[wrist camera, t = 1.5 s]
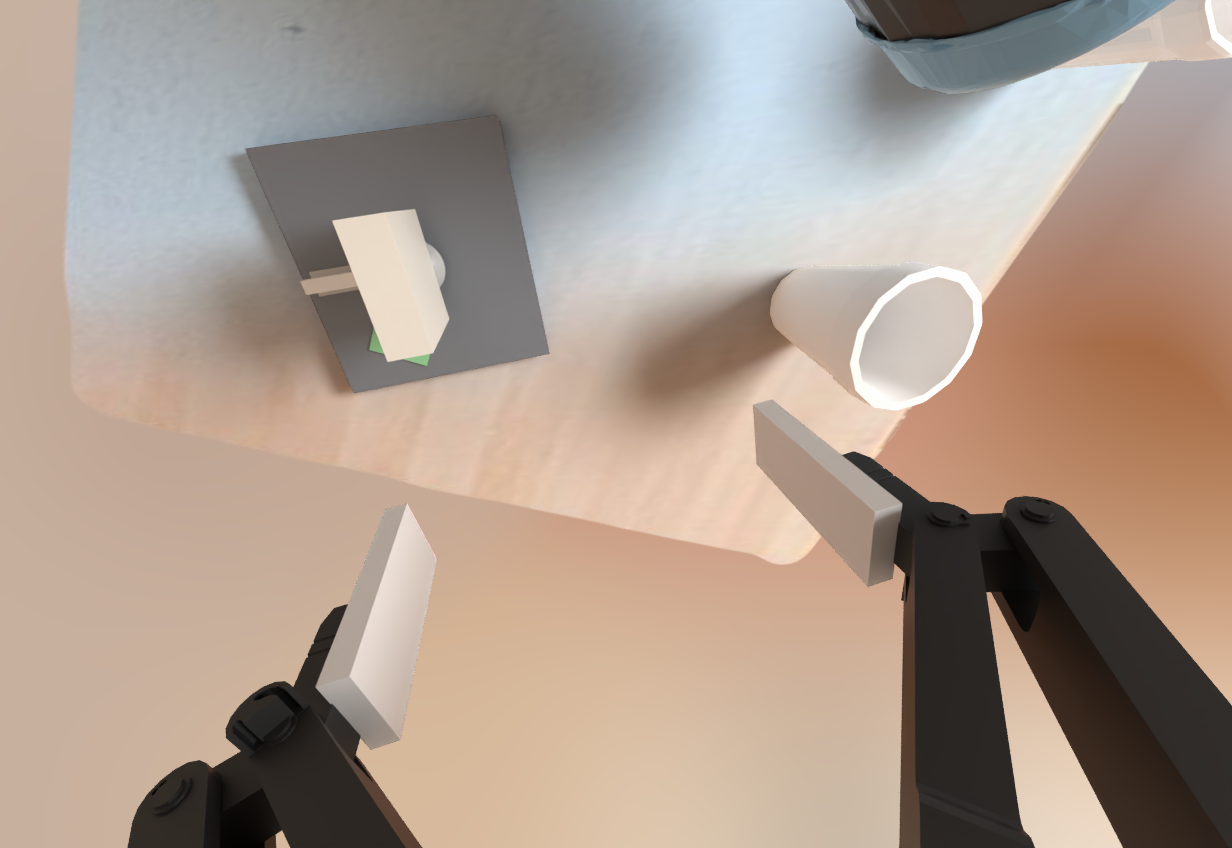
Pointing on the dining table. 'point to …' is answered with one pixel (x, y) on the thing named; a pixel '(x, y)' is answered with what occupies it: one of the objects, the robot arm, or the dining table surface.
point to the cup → (1169, 36)
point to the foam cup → (881, 326)
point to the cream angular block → (392, 280)
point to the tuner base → (450, 221)
